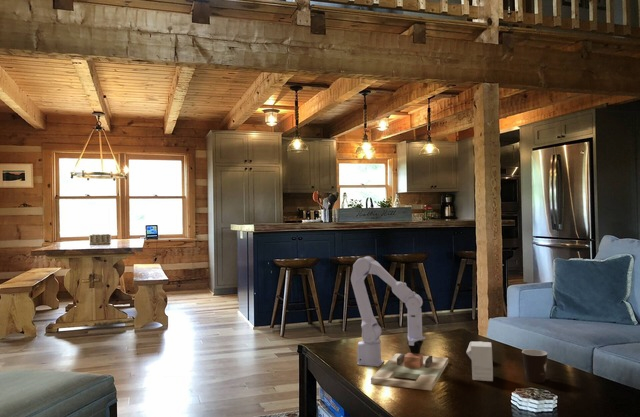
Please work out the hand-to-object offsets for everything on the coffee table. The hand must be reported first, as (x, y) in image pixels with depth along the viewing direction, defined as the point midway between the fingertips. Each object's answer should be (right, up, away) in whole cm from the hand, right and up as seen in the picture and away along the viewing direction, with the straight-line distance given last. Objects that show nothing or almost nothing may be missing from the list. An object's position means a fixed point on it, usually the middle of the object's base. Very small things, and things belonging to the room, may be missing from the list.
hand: (415, 359), depth 201 cm
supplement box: (+22, -3, -15) cm, 27 cm away
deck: (-3, -3, -6) cm, 8 cm away
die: (+27, -3, +7) cm, 28 cm away
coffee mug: (+42, -2, -18) cm, 45 cm away
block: (-2, -1, -4) cm, 5 cm away
